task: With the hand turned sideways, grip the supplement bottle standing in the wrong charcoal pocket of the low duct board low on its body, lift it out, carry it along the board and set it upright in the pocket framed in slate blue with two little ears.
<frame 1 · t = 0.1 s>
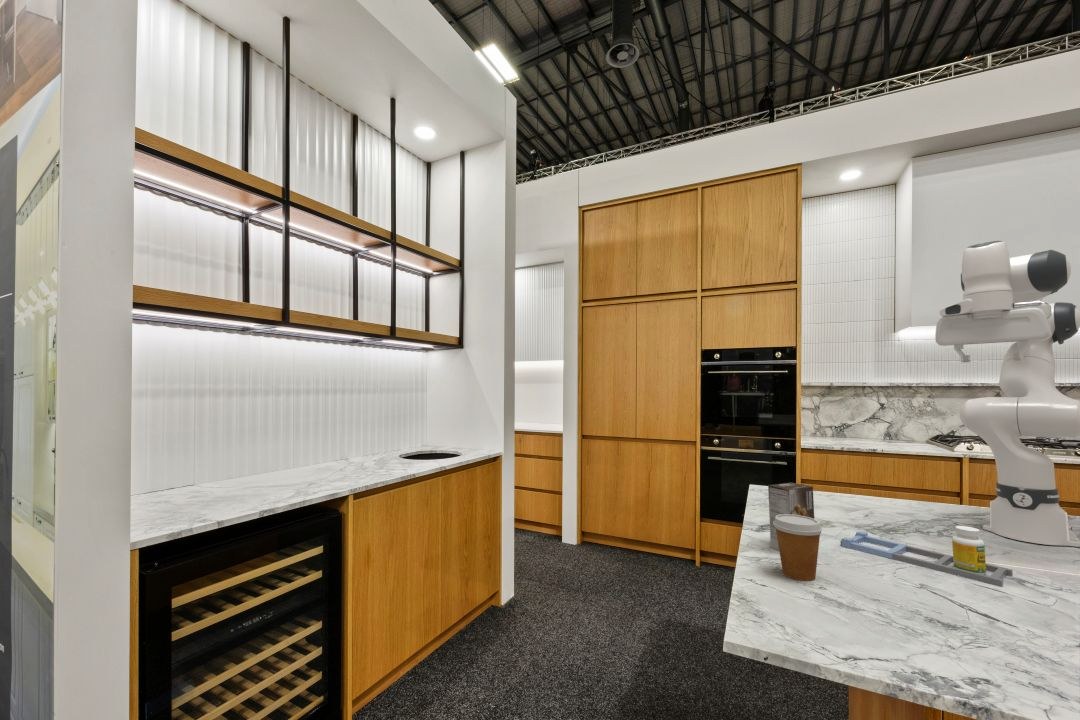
hand: (991, 361, 111), 48 cm above the countertop, tool pointing down, fingers open, 8 cm apart
coffee box: (792, 549, 116), on the countertop
duct board: (919, 559, 109), on the countertop
disposable coffee cup: (798, 575, 99), on the countertop
supplement bottle: (969, 572, 101), resting in duct board
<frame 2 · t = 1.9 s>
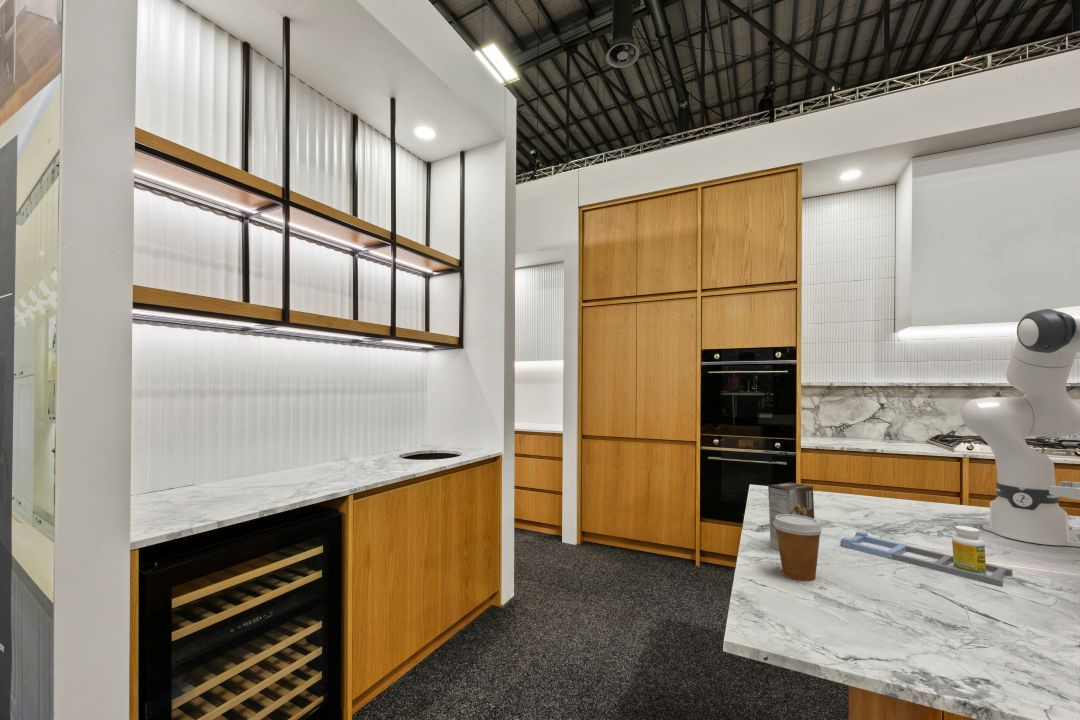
hand: (1054, 487, 92), 21 cm above the countertop, tool horizontal, fingers open, 8 cm apart
nothing on the countertop moved.
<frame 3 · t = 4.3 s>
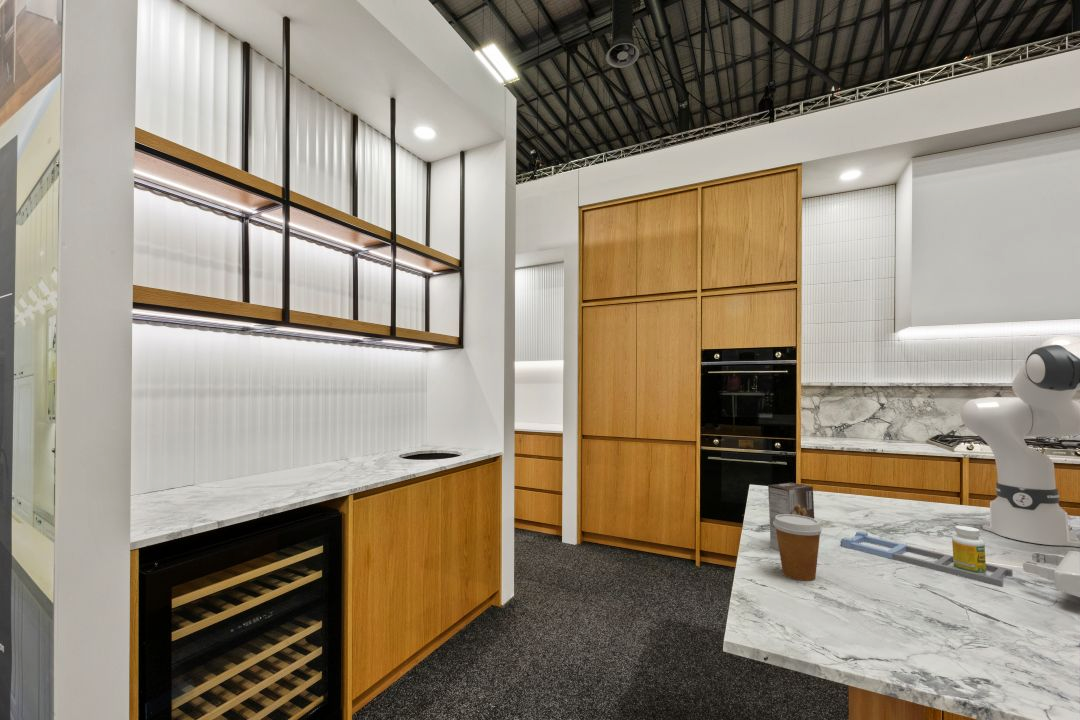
hand: (1028, 561, 94), 5 cm above the countertop, tool horizontal, fingers open, 8 cm apart
nothing on the countertop moved.
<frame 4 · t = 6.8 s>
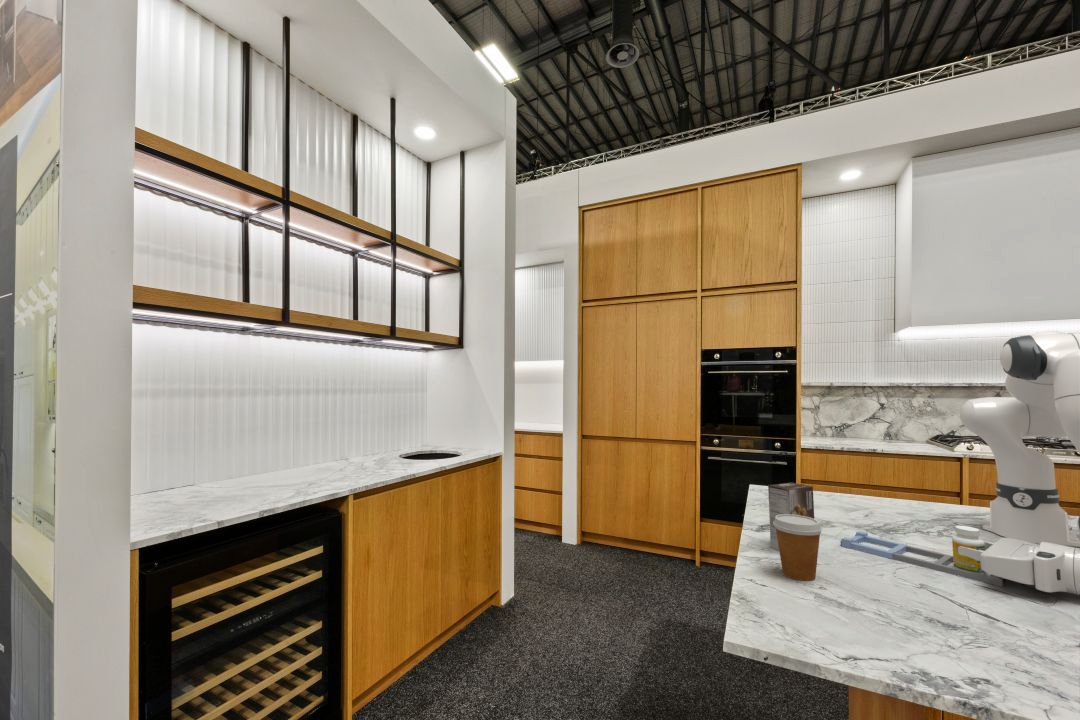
hand: (963, 546, 103), 5 cm above the countertop, tool horizontal, fingers closed on supplement bottle, 5 cm apart
supplement bottle: (969, 572, 101), resting in duct board, touching gripper
everything else where it was.
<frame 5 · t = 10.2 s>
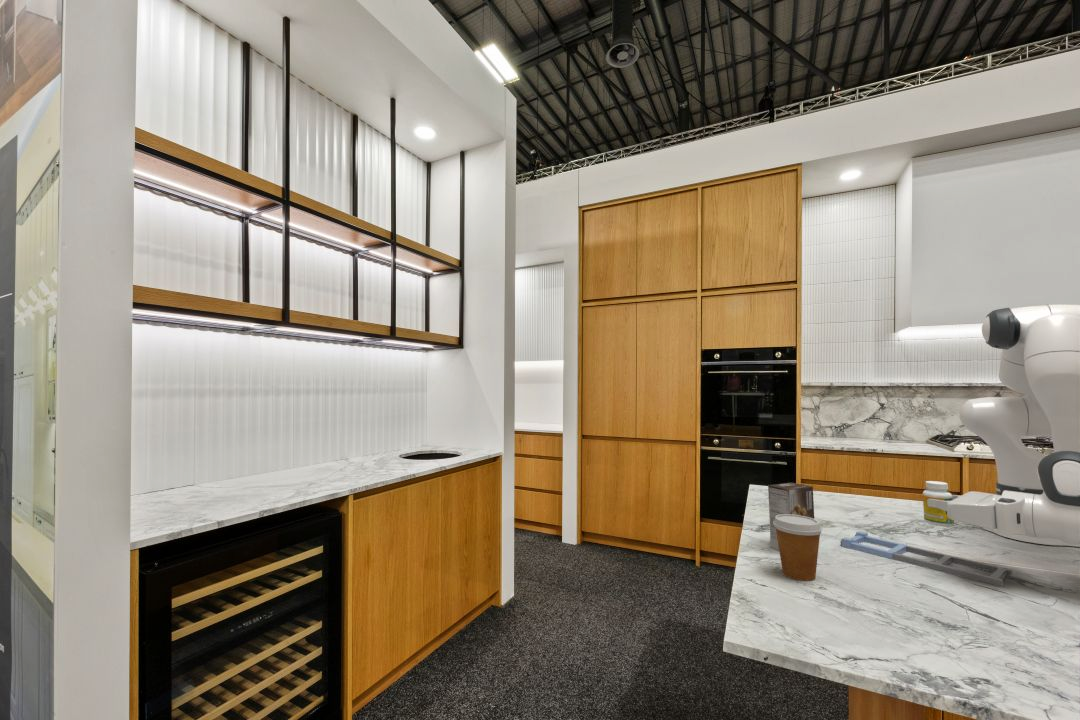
hand: (932, 499, 107), 15 cm above the countertop, tool horizontal, fingers closed on supplement bottle, 5 cm apart
supplement bottle: (939, 524, 106), point 9 cm above the countertop, touching gripper
everything else where it was.
when the fingers open (6 cm above the countertop, at t = 13.7 s): supplement bottle stays where it is, resting in duct board.
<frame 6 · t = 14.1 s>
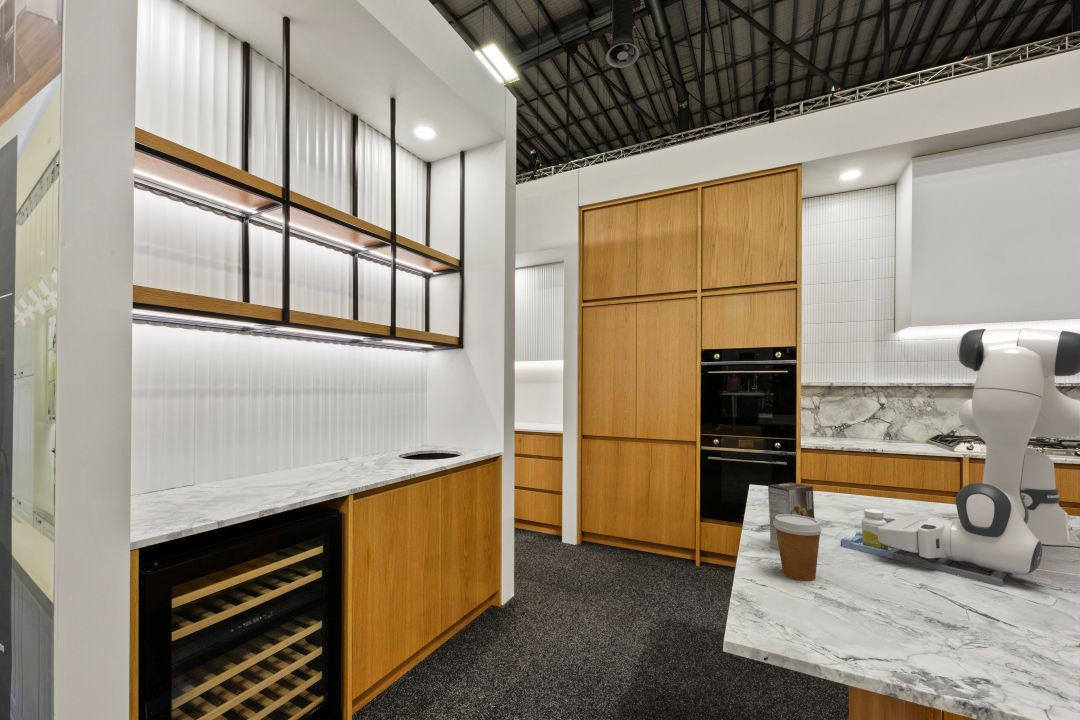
hand: (870, 523, 117), 6 cm above the countertop, tool horizontal, fingers open, 8 cm apart
supplement bottle: (875, 549, 116), resting in duct board
everything else where it was.
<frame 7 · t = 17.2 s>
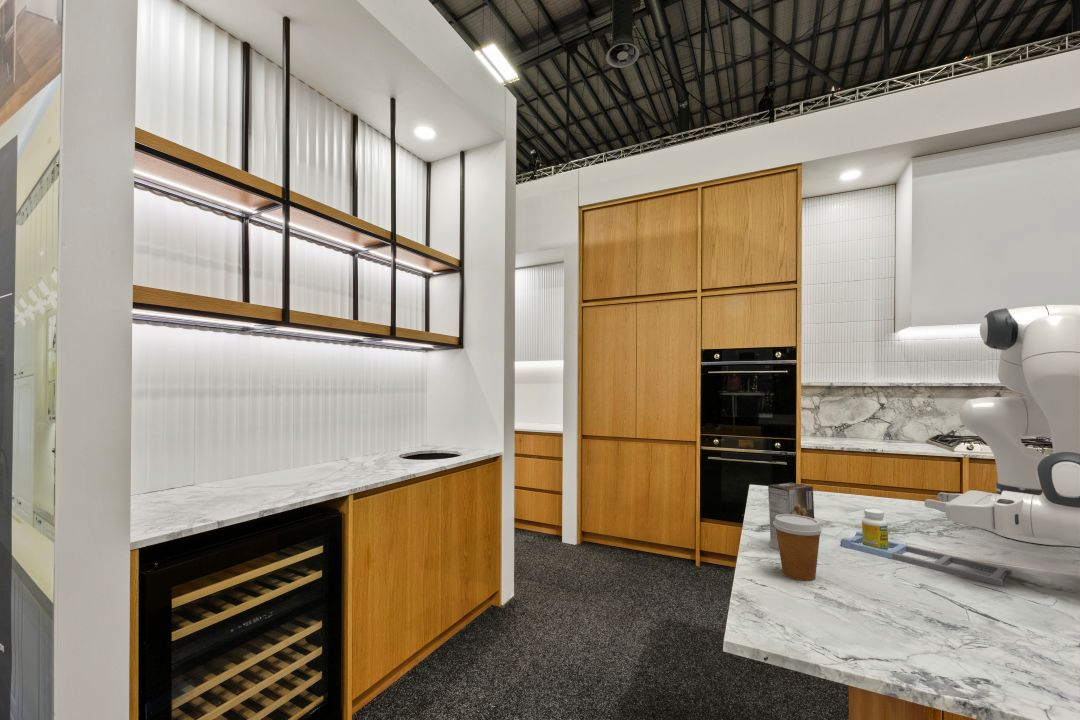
hand: (932, 499, 108), 15 cm above the countertop, tool horizontal, fingers open, 8 cm apart
nothing on the countertop moved.
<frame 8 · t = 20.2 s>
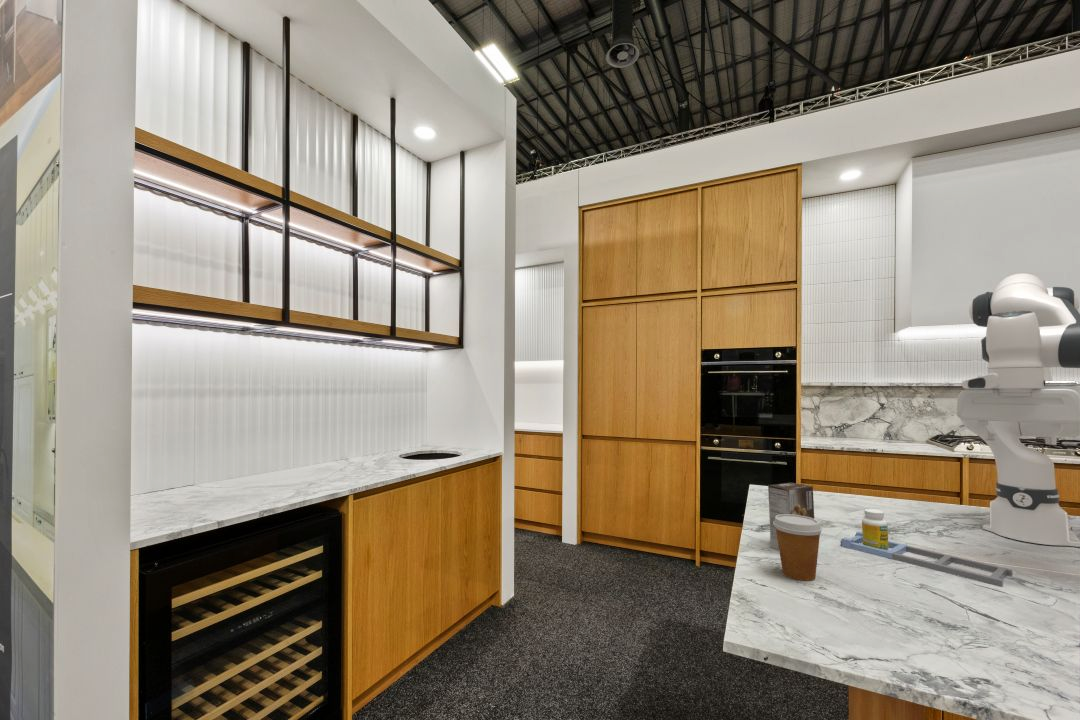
hand: (1019, 442, 101), 29 cm above the countertop, tool pointing down, fingers open, 8 cm apart
nothing on the countertop moved.
at the end: supplement bottle 0.1 cm from the target spot on the duct board, point 0.0 cm above the duct board's base; supplement bottle tilted 0°; the gripper is holding nothing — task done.
